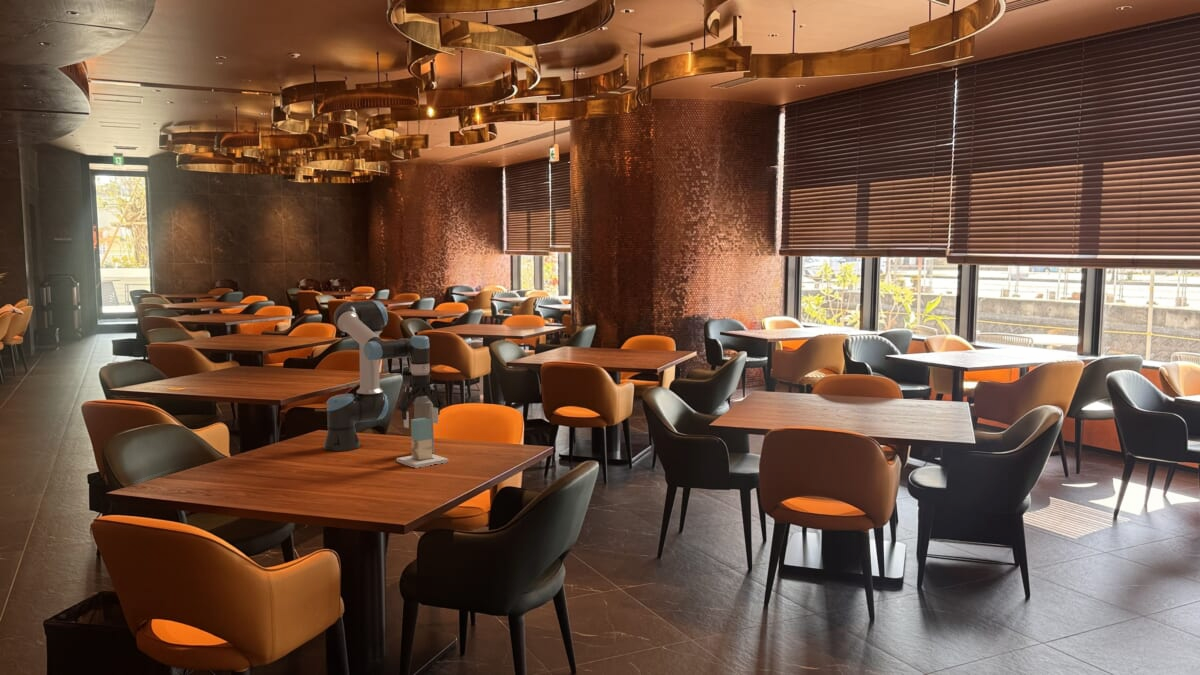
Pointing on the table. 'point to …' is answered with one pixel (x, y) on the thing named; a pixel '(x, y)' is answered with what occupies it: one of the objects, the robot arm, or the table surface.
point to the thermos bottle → (424, 412)
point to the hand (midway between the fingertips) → (421, 425)
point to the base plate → (422, 461)
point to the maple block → (422, 449)
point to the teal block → (421, 429)
